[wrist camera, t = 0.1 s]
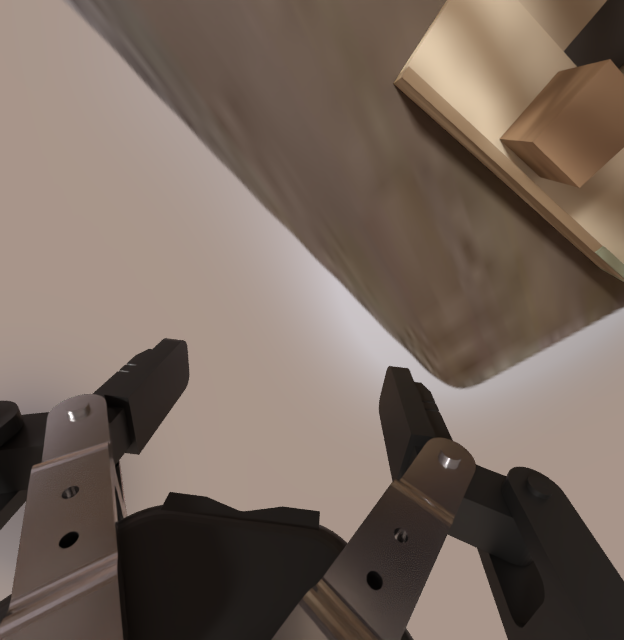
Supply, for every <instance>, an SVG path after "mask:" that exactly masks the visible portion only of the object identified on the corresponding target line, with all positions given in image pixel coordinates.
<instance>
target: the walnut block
mask: <svg viewBox="0 0 624 640" xmlns="http://www.w3.org/2000/svg"><path fill="white" fill-rule="evenodd" d="M500 140H501V141H502V142H503V143H504V144H505V145H506V146H507V147H509V148H510V149H511V150H512V151H513V152H514V153H515V154H516V155H517V156H518V157H519V158H520V159H521V160H522V161H523V162H524V163H526V164H527V165H528V166H529V167H530V168H531V169H532V170H533V171H534V172H535V173H536V174H537V175H538V176H539V177H541V178H545V179H548V180H552V181H556V182H560V183H563V184H567V185H571V186H575V187H578V188H580V187H581V186H582V185H583V184H584V183H586V182H587V181H588V180H589V179H590V178H591V177H592V176H593V175H594V174H595V173H596V172H598V171H599V170H600V169H601V168H602V167H603V166H604V165H605V164H606V163H607V162H608V161H610V160H611V159H612V158H613V157H614V156H615V155H616V154H617V153H618V152H619V151H620V150H622V149H623V148H624V75H623V74H622V73H621V71H620V70H619V69H618V68H617V67H616V65H615V64H614V63H613V62H612V61H611V59H608V60H604V61H600V62H596V63H592V64H587V65H583V66H579V67H575V68H571V69H567V70H562V71H558V72H557V74H556V75H555V76H554V77H553V78H552V79H551V80H550V82H549V83H548V84H547V85H546V86H545V87H544V88H543V90H542V91H541V92H540V93H539V94H538V95H537V96H536V98H535V99H534V100H533V101H532V102H531V103H530V104H529V106H528V107H527V108H526V109H525V110H524V111H523V112H522V114H521V115H520V116H519V117H518V118H517V119H516V121H515V122H514V123H513V124H512V125H511V126H510V127H509V129H508V130H507V131H506V132H505V133H504V134H503V135H502V137H501V138H500Z"/></svg>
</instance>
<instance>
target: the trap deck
mask: <svg viewBox="0 0 624 640" xmlns="http://www.w3.org/2000/svg"><path fill="white" fill-rule="evenodd" d="M608 59H611V61H612V62H613V63H614V64H615V65H616V67H617V68H618V69H619V70H620V71H621V73H622V74H623V75H624V0H447V1H446V2H445V4H444V5H443V7H442V9H441V10H440V12H439V13H438V15H437V16H436V18H435V19H434V21H433V23H432V24H431V26H430V27H429V29H428V30H427V32H426V33H425V35H424V37H423V38H422V40H421V41H420V43H419V44H418V46H417V47H416V49H415V51H414V52H413V54H412V55H411V57H410V58H409V60H408V61H407V63H406V65H405V66H404V68H403V69H402V71H401V72H400V74H399V75H398V77H397V79H396V80H395V82H394V83H393V84H394V85H396V86H397V87H398V88H399V89H400V90H401V91H402V92H403V93H404V94H406V95H407V96H408V97H409V98H410V99H411V100H412V101H413V102H415V103H416V104H417V105H418V106H419V107H420V108H421V109H422V110H423V111H425V112H426V113H427V114H428V115H429V116H430V117H431V118H432V119H434V120H435V121H436V122H437V123H438V124H439V125H440V126H441V127H442V128H444V129H445V130H446V131H447V132H448V133H449V134H450V135H451V136H453V137H454V138H455V139H456V140H457V141H458V142H459V143H460V144H461V145H463V146H464V147H465V148H466V149H467V150H468V151H469V152H470V153H472V154H473V155H474V156H475V157H476V158H477V159H478V160H479V161H480V162H482V163H483V164H484V165H485V166H486V167H487V168H488V169H489V170H491V171H492V172H493V173H494V174H495V175H496V176H497V177H498V178H499V179H501V180H502V181H503V182H504V183H505V184H506V185H507V186H508V187H510V188H511V189H512V190H513V191H514V192H515V193H516V194H517V195H518V196H520V197H521V198H522V199H523V200H524V201H525V202H526V203H527V204H529V205H530V206H531V207H532V208H533V209H534V210H535V211H536V212H537V213H539V214H540V215H541V216H542V217H543V218H544V219H545V220H546V221H548V222H549V223H550V224H551V225H552V226H553V227H554V228H555V229H556V230H558V231H559V232H560V233H561V234H562V235H563V236H564V237H565V238H567V239H568V240H569V241H570V242H571V243H572V244H573V245H574V246H575V247H577V248H578V249H579V250H580V251H581V252H582V253H583V254H584V255H586V256H587V257H588V258H589V259H590V260H591V261H592V262H593V263H594V264H596V265H597V266H598V267H599V268H600V269H601V270H603V271H605V272H607V273H608V274H610V275H612V276H614V277H616V278H617V279H619V280H621V281H623V282H624V148H623V149H622V150H620V151H619V152H618V153H617V154H616V155H615V156H614V157H613V158H612V159H611V160H610V161H608V162H607V163H606V164H605V165H604V166H603V167H602V168H601V169H600V170H599V171H598V172H596V173H595V174H594V175H593V176H592V177H591V178H590V179H589V180H588V181H587V182H586V183H584V184H583V185H582V186H581V187H580V188H578V187H575V186H571V185H567V184H563V183H560V182H556V181H552V180H548V179H545V178H541V177H539V176H538V175H537V174H536V173H535V172H534V171H533V170H532V169H531V168H530V167H529V166H528V165H527V164H526V163H524V162H523V161H522V160H521V159H520V158H519V157H518V156H517V155H516V154H515V153H514V152H513V151H512V150H511V149H510V148H509V147H507V146H506V145H505V144H504V143H503V142H502V141H501V140H500V138H501V137H502V135H503V134H504V133H505V132H506V131H507V130H508V129H509V127H510V126H511V125H512V124H513V123H514V122H515V121H516V119H517V118H518V117H519V116H520V115H521V114H522V112H523V111H524V110H525V109H526V108H527V107H528V106H529V104H530V103H531V102H532V101H533V100H534V99H535V98H536V96H537V95H538V94H539V93H540V92H541V91H542V90H543V88H544V87H545V86H546V85H547V84H548V83H549V82H550V80H551V79H552V78H553V77H554V76H555V75H556V74H557V72H558V71H562V70H567V69H571V68H575V67H579V66H583V65H587V64H592V63H596V62H600V61H604V60H608Z"/></svg>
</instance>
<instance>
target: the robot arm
mask: <svg viewBox="0 0 624 640" xmlns="http://www.w3.org/2000/svg"><path fill="white" fill-rule="evenodd" d="M188 380H189V363H188V350H187V344H186V342H185V341H183V340H176V339H167V338H165V339H163V340H162V341H161V342H160V343H159V344H158V345H157V346H155V348H153V349H148V350H146V351H144V352H142V353H140V354H138V355H136V356H135V357H133V358H132V359H131V360H130V361H129V362H128V363H127V365H124V366H123V367H122V368H121V369H120V371H119V372H117V373H115V374H114V375H113V376H112V377H111V378H110V379H109V380H108V381H107V382H105V383H104V384H103V385H102V386H101V387H100V388H99V389H97V391H95V392H94V393H93V394H84V395H78V396H75V397H71V398H69V399H67V400H64V401H62V402H61V403H59V404H57V405H56V406H55V407H54V408H52V410H51V411H50V412H46V413H37V414H26V415H21V413H20V410H19V408H18V406H17V404H16V403H14V402H11V401H0V530H1V529H2V527H3V526H4V525H5V524H6V523H7V522H8V521H9V520H10V518H11V517H12V516H13V515H14V514H15V513H16V512H17V511H18V509H19V508H20V507H21V506H22V505H23V504H24V503H25V501H26V506H25V513H24V519H23V525H22V531H21V538H20V544H19V550H18V557H17V563H16V570H15V576H14V582H13V588H12V594H11V595H9V596H8V597H6V598H5V599H3V600H2V601H0V640H413V638H412V636H411V635H410V633H409V632H408V630H407V629H406V626H407V624H408V622H409V620H410V617H411V615H412V613H413V611H414V608H415V606H416V604H417V602H418V599H419V597H420V595H421V593H422V590H423V588H424V586H425V583H426V581H427V579H428V577H429V574H430V572H431V570H432V567H433V565H434V563H435V561H436V559H437V556H438V554H439V552H440V550H441V547H442V545H443V543H444V541H445V538H446V536H447V534H448V535H450V536H452V537H455V538H457V539H459V540H461V541H463V542H466V543H468V544H470V545H472V546H474V547H477V549H478V552H479V555H480V558H481V561H482V564H483V567H484V570H485V573H486V576H487V579H488V582H489V585H490V588H491V591H492V593H493V597H494V600H495V602H496V605H497V608H498V611H499V614H500V617H501V620H502V623H503V626H504V629H505V632H506V635H507V638H508V640H624V581H623V579H622V578H621V577H620V575H619V573H618V572H617V570H616V569H615V568H614V566H613V565H612V563H611V562H610V560H609V559H608V557H607V556H606V554H605V553H604V551H603V550H602V548H601V547H600V545H599V544H598V542H597V541H596V540H595V538H594V536H593V535H592V533H591V532H590V531H589V529H588V528H587V526H586V525H585V523H584V522H583V520H582V519H581V517H580V516H579V514H578V513H577V511H576V510H575V508H574V507H573V505H572V504H571V502H570V501H569V499H568V498H567V497H566V495H565V494H564V492H563V491H562V490H561V489H560V488H559V486H558V485H556V484H555V483H554V482H553V481H552V480H550V479H549V478H548V477H546V476H545V475H543V474H541V473H539V472H537V471H535V470H533V469H530V468H526V467H514V468H512V469H511V470H510V471H509V473H508V474H507V476H504V475H501V474H499V473H496V472H493V471H491V470H488V469H485V468H483V467H481V466H478V465H476V464H475V461H474V459H473V457H472V455H471V454H470V453H469V452H468V451H467V450H466V449H465V448H464V447H463V446H461V445H460V444H458V443H456V442H454V441H453V440H452V438H451V436H450V434H449V432H448V429H447V427H446V425H445V423H444V421H443V418H442V416H441V414H440V413H439V410H438V407H437V405H436V404H435V401H434V399H433V396H432V394H431V392H430V391H429V390H428V389H427V388H426V387H425V386H424V385H423V384H422V383H418V382H414V381H413V378H412V376H411V373H410V371H409V369H408V368H401V367H392V366H389V367H388V368H387V371H386V375H385V379H384V383H383V387H382V392H381V396H380V400H379V414H380V420H381V425H382V430H383V435H384V440H385V445H386V451H387V456H388V461H389V466H390V471H391V475H392V481H393V482H392V483H391V485H390V486H389V487H388V489H387V490H386V491H385V493H384V494H383V496H382V497H381V498H380V500H379V501H378V502H377V504H376V505H375V507H374V508H373V509H372V511H371V512H370V513H369V515H368V516H367V518H366V519H365V520H364V521H363V523H362V524H361V526H360V527H359V528H358V530H357V531H356V532H355V534H354V535H353V537H352V538H351V539H350V541H349V542H348V543H347V542H345V541H344V540H343V539H342V538H341V537H340V536H338V535H337V534H336V533H334V532H333V531H331V530H329V529H327V528H326V527H324V526H321V525H319V516H320V512H319V511H312V510H305V509H297V508H289V507H276V508H268V509H261V510H253V511H238V510H236V509H234V508H231V507H229V506H227V505H224V504H222V503H220V502H217V501H215V500H213V499H210V498H208V497H204V496H197V495H189V494H181V493H173V492H170V493H169V495H168V496H167V498H166V500H165V502H164V504H163V505H160V506H155V507H151V508H147V509H144V510H142V511H139V512H136V513H134V514H132V515H130V516H127V513H126V505H125V497H124V489H123V482H122V474H121V466H120V461H119V460H120V458H121V457H122V456H123V455H124V453H130V454H138V455H139V454H140V452H141V451H142V449H143V448H144V447H145V445H146V444H147V443H148V441H149V440H150V438H151V437H152V435H153V434H154V432H155V431H156V430H157V428H158V427H159V425H160V424H161V423H162V421H163V420H164V418H165V417H166V416H167V414H168V413H169V411H170V410H171V408H172V407H173V406H174V404H175V403H176V402H177V400H178V399H179V397H180V396H181V394H182V393H183V392H184V390H185V389H186V386H187V384H188Z"/></svg>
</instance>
